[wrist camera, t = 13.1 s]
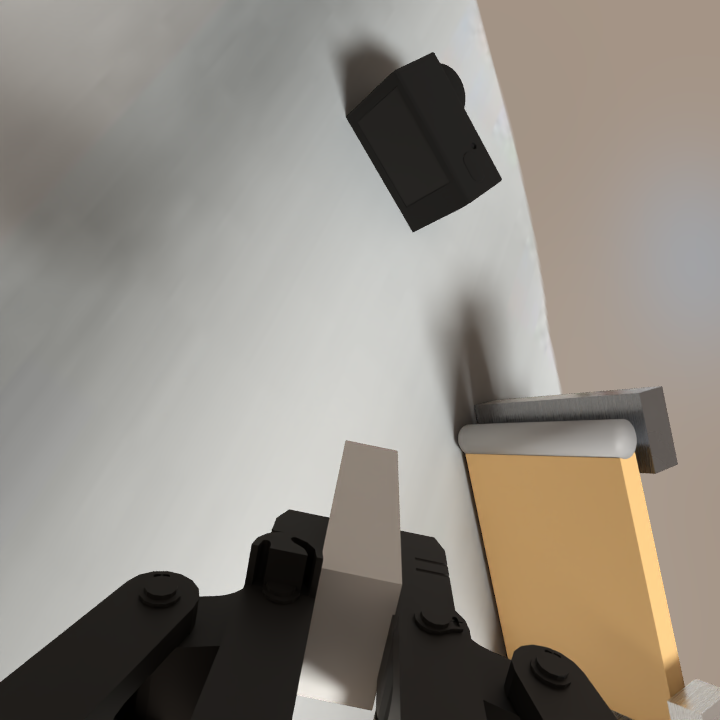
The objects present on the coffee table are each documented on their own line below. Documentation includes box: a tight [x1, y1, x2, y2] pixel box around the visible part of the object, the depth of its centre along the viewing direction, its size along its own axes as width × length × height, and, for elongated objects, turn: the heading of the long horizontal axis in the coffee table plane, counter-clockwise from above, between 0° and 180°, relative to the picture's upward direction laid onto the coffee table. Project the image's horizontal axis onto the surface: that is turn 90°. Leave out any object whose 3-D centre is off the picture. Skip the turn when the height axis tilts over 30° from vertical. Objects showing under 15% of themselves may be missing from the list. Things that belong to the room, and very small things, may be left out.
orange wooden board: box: [458, 419, 685, 720], centre depth 42 cm, size 19×2×14 cm, turn 13°
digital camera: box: [346, 52, 502, 232], centre depth 45 cm, size 10×5×7 cm, turn 37°
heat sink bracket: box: [475, 386, 720, 720], centre depth 42 cm, size 24×8×17 cm, turn 12°
